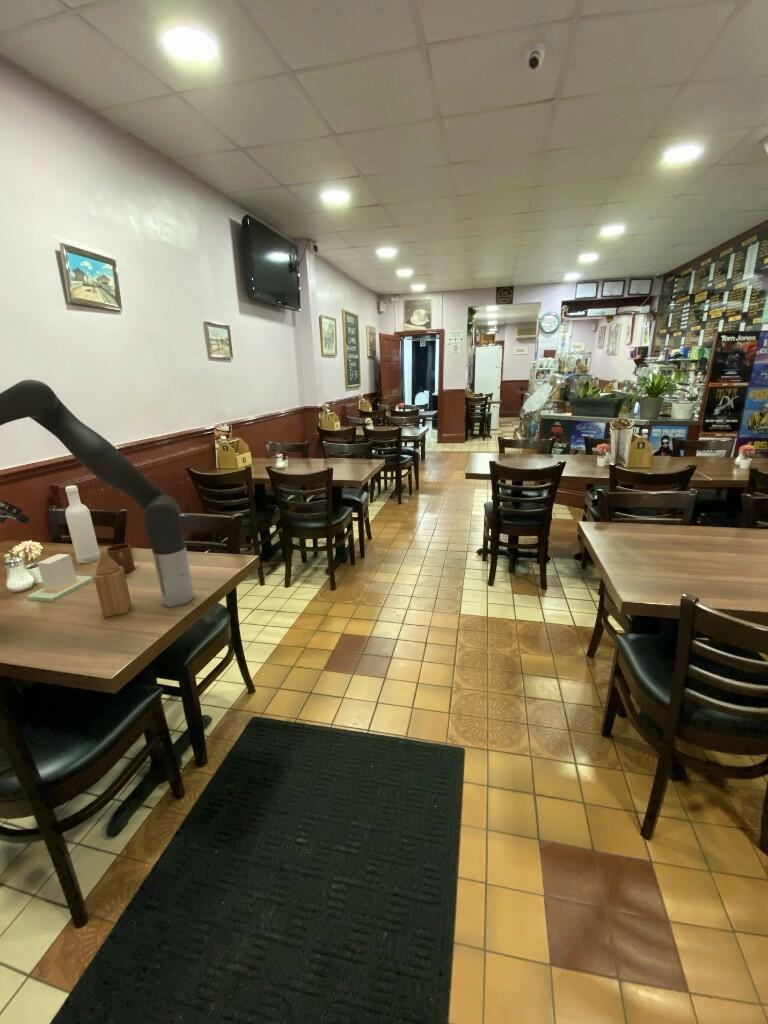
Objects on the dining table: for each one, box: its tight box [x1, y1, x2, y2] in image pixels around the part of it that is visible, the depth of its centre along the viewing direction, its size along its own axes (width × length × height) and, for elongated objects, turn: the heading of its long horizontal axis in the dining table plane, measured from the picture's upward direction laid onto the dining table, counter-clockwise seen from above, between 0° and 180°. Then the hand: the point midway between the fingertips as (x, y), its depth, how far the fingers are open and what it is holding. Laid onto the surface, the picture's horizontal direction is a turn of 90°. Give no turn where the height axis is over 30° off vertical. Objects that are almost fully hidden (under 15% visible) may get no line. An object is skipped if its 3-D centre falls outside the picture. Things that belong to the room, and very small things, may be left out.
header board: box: [26, 574, 95, 603], centre depth 146 cm, size 16×10×5 cm, turn 168°
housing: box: [37, 553, 77, 592], centre depth 145 cm, size 8×5×10 cm, turn 168°
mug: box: [106, 543, 136, 574], centre depth 157 cm, size 12×8×9 cm, turn 37°
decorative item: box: [93, 550, 132, 618], centre depth 129 cm, size 7×7×20 cm
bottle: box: [64, 485, 101, 564], centre depth 167 cm, size 8×8×30 cm
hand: (16, 520), depth 127 cm, fingers open, 8 cm apart
